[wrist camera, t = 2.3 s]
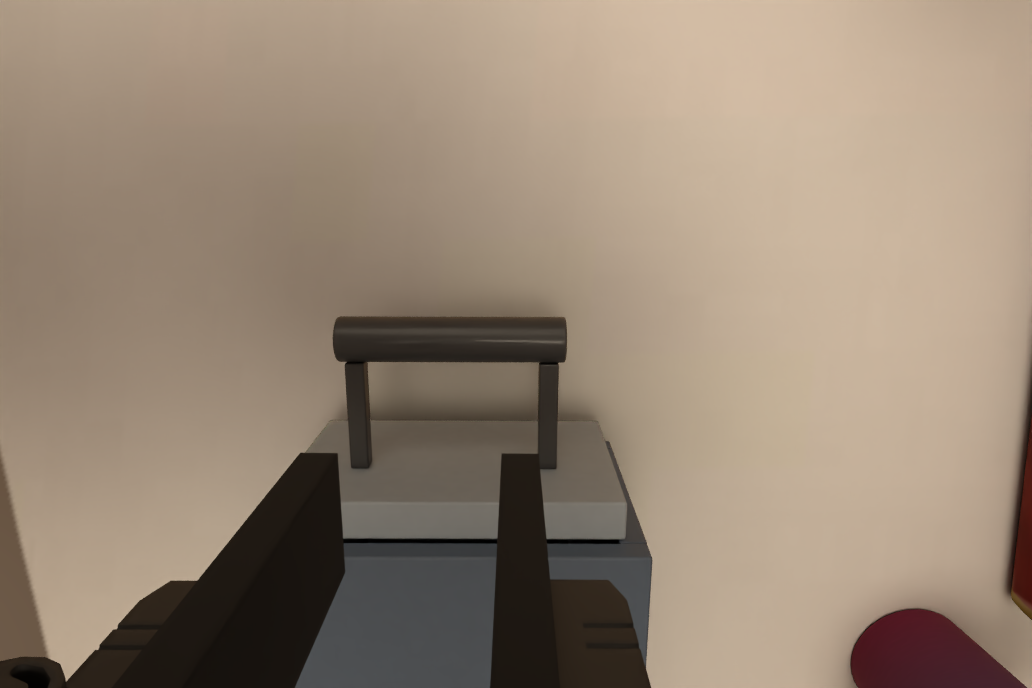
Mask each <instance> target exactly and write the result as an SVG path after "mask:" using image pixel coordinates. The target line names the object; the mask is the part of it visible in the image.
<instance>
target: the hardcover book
mask: <svg viewBox="0 0 1032 688" xmlns="http://www.w3.org/2000/svg"><path fill="white" fill-rule="evenodd" d="M1011 596H1012V600H1013V601H1014V602H1015V603H1016V605H1017V606H1018V607H1019V608H1020V609H1021V610H1022V611H1023V612H1024V613H1025V614H1026V615H1027V616H1028V617H1029V618H1030V619H1031V620H1032V414H1031V422H1030V431H1029V440H1028V449H1027V457H1026V466H1025V475H1024V484H1023V492H1022V501H1021V510H1020V519H1019V527H1018V536H1017V545H1016V554H1015V562H1014V571H1013V580H1012V589H1011Z"/></svg>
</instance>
